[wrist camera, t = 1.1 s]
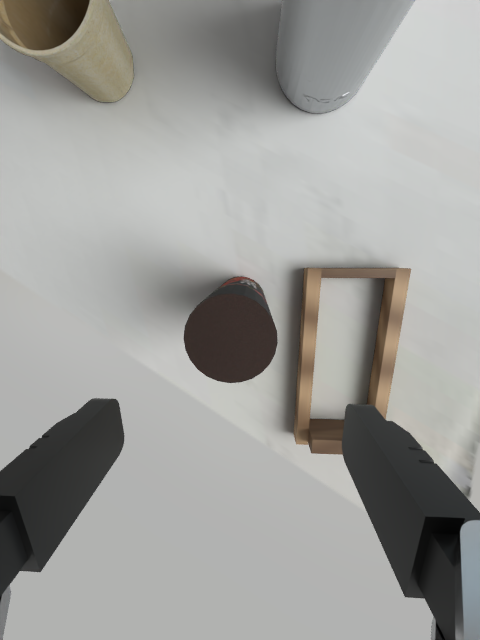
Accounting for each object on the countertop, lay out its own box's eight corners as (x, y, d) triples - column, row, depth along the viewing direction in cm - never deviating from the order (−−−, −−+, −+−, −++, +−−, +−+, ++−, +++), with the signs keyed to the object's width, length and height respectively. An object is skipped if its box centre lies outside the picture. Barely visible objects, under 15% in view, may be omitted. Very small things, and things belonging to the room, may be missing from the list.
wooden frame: (304, 268, 28) (312, 269, 24) (399, 268, 28) (424, 269, 24) (293, 433, 34) (299, 456, 30) (373, 436, 33) (389, 459, 29)
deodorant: (217, 322, 30) (184, 380, 16) (217, 275, 29) (182, 291, 14) (263, 325, 30) (274, 385, 16) (266, 277, 29) (281, 295, 14)
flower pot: (52, 100, 25) (-48, 20, 17) (70, -9, 23) (-35, -163, 15) (135, 137, 26) (79, 77, 17) (161, 34, 23) (111, -92, 15)
